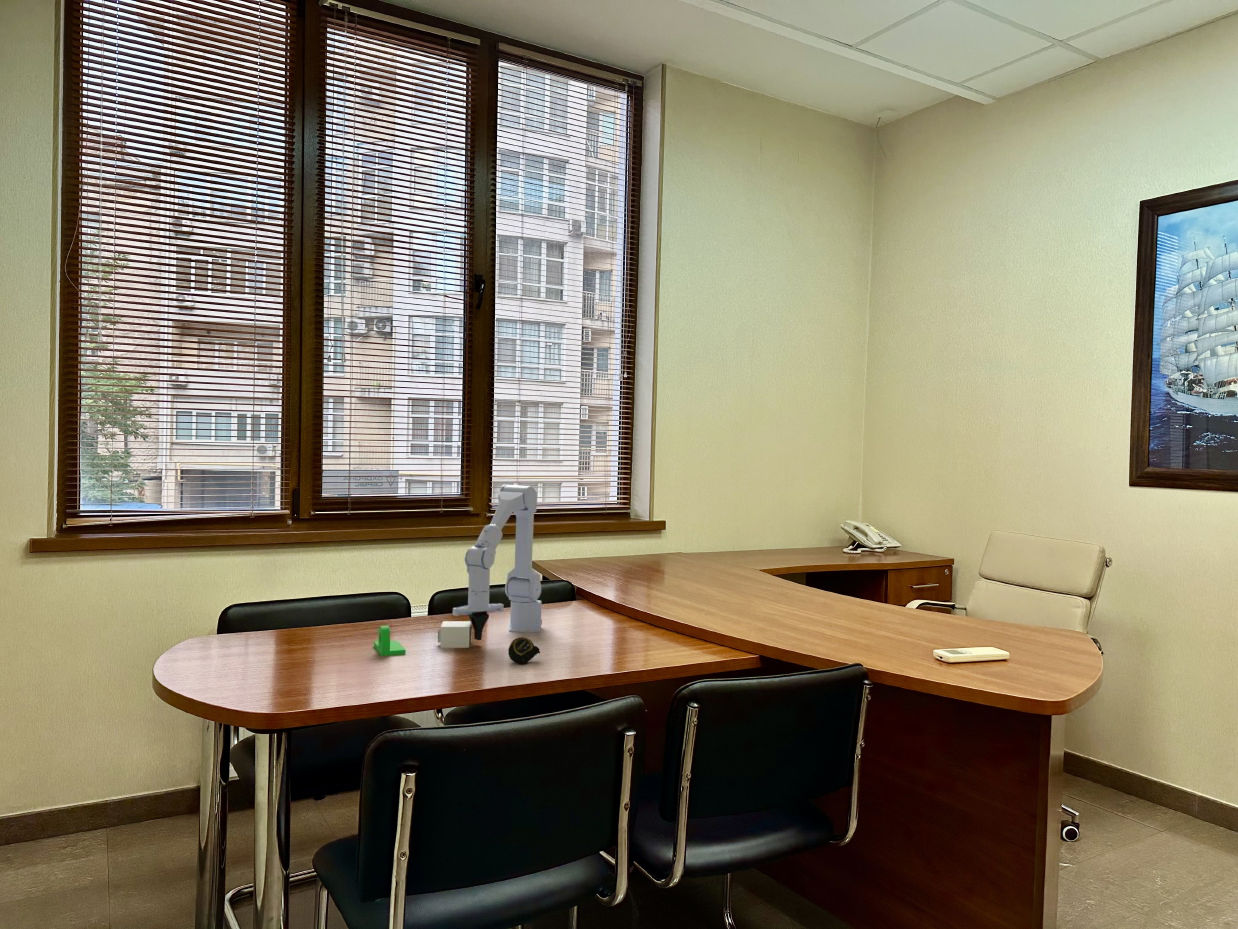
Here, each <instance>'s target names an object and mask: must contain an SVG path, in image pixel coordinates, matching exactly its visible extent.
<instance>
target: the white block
mask: <svg viewBox="0 0 1238 929" xmlns="http://www.w3.org/2000/svg"><path fill="white" fill-rule="evenodd" d="M440 626H441V627H440V629H441V643H440V649H467V648H468V649H469V648H471V647H472V642H473V641H472V640H471V629H472V630H473V625H472V623H471V620H466V621H465V620H464V621H462V620H457V621H456V620H455V621H454V620H450V621H447V620H446V621H445V620H443V621H442V623H441V625H440Z"/></svg>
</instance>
